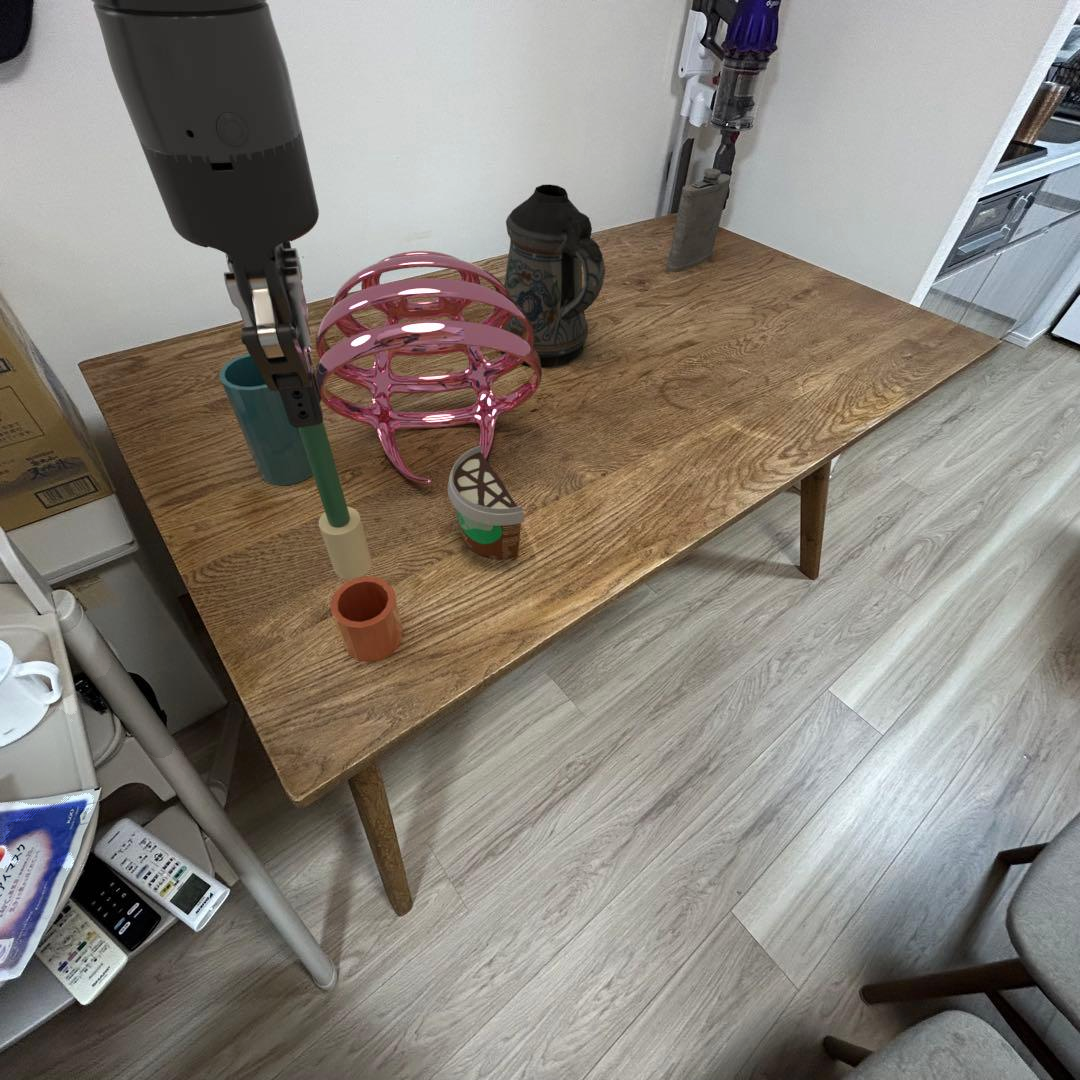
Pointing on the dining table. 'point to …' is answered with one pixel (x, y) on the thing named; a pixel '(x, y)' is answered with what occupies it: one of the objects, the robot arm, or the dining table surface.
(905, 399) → the dining table surface
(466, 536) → the food container
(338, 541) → the bottle brush
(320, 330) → the spiral basket
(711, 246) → the flask
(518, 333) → the beer stein
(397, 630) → the cup
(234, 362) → the teal cylindrical cup
